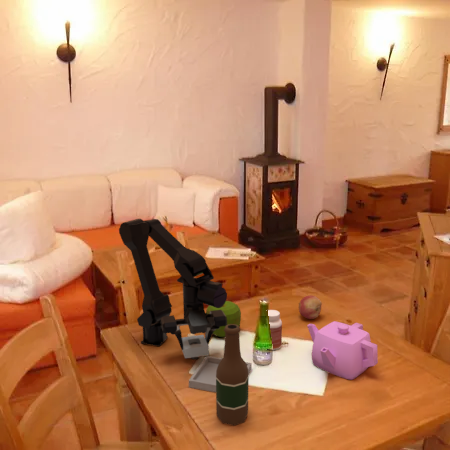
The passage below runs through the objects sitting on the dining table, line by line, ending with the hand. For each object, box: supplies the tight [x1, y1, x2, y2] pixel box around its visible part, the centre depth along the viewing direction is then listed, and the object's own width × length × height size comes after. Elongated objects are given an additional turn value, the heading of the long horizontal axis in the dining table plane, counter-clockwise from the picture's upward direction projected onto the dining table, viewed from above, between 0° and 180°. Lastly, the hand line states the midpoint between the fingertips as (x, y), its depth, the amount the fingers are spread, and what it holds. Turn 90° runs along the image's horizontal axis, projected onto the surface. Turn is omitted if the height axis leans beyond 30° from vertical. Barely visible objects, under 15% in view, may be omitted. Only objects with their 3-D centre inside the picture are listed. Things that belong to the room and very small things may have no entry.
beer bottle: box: [215, 324, 249, 426], centre depth 122 cm, size 8×8×24 cm
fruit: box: [298, 294, 323, 320], centre depth 176 cm, size 8×8×8 cm
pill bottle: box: [267, 309, 283, 351], centre depth 157 cm, size 6×6×11 cm
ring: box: [181, 333, 210, 359], centre depth 152 cm, size 9×7×3 cm
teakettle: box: [306, 320, 379, 381], centre depth 146 cm, size 17×17×12 cm
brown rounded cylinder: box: [190, 342, 199, 361], centre depth 152 cm, size 2×2×4 cm
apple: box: [205, 300, 242, 338], centre depth 166 cm, size 11×11×11 cm
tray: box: [188, 355, 253, 393], centre depth 141 cm, size 14×14×2 cm
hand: (194, 347), depth 151 cm, fingers closed on ring, 7 cm apart
